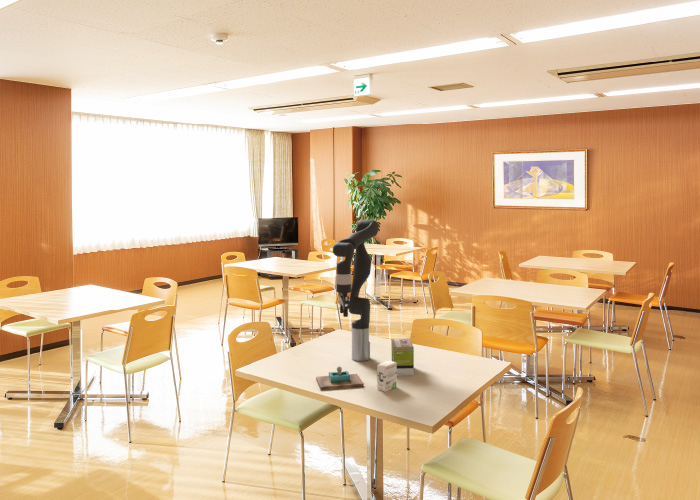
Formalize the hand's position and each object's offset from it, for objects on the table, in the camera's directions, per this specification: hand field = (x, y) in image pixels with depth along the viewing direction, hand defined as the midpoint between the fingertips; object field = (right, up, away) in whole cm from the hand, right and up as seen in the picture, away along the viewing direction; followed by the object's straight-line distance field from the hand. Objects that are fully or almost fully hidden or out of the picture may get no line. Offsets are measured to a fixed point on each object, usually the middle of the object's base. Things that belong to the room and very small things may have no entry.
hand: (343, 314), depth 272 cm
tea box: (+29, -28, +1) cm, 41 cm away
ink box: (+20, -31, -23) cm, 44 cm away
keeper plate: (-2, -30, -17) cm, 34 cm away
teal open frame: (-2, -29, -17) cm, 33 cm away
